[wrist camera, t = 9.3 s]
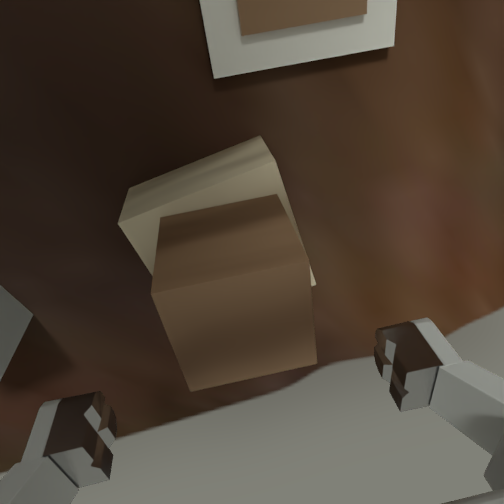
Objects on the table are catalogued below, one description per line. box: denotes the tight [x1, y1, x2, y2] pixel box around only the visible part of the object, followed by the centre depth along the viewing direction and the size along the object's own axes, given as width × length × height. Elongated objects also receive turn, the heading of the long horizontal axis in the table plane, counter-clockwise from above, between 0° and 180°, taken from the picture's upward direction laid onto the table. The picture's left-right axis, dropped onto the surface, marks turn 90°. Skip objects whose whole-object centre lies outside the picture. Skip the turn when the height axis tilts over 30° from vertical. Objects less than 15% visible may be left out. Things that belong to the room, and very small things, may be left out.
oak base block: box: [118, 136, 316, 286], centre depth 19 cm, size 7×7×4 cm
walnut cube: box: [151, 194, 317, 392], centre depth 15 cm, size 5×5×5 cm
